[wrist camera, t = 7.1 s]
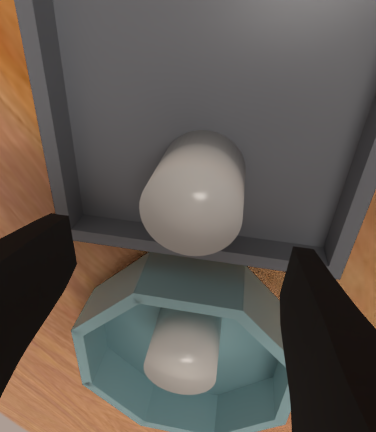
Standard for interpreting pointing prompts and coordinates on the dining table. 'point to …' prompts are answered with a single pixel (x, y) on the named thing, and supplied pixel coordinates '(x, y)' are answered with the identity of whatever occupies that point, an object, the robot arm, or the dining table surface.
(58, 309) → the dining table surface
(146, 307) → the bowl
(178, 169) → the pebble
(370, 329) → the robot arm
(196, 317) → the pebble
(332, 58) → the parts tray
